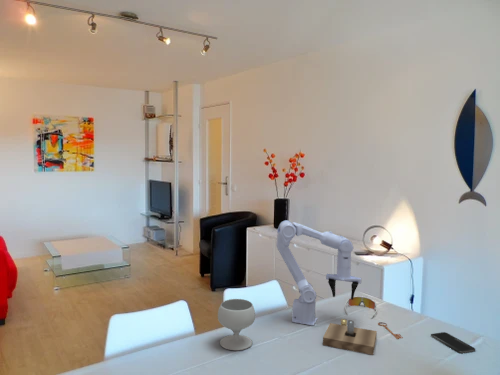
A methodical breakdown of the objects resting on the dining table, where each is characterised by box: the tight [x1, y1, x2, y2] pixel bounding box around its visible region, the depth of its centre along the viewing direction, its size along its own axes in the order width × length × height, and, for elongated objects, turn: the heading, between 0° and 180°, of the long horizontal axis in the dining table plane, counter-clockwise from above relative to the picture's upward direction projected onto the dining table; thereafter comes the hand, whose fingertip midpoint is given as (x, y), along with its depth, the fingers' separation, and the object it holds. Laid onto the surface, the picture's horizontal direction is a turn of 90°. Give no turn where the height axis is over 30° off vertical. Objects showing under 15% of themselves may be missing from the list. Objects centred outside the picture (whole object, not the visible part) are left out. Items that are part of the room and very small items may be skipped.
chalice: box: [217, 298, 256, 351], centre depth 146 cm, size 14×14×15 cm
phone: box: [430, 331, 476, 355], centre depth 149 cm, size 8×1×15 cm
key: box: [377, 321, 404, 340], centre depth 160 cm, size 6×1×15 cm
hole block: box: [322, 322, 378, 356], centre depth 149 cm, size 18×14×3 cm
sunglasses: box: [344, 295, 378, 320], centre depth 180 cm, size 14×15×5 cm
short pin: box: [340, 318, 348, 326], centre depth 160 cm, size 2×2×4 cm
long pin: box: [347, 319, 355, 337], centre depth 149 cm, size 2×2×8 cm
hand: (343, 297), depth 167 cm, fingers open, 7 cm apart
